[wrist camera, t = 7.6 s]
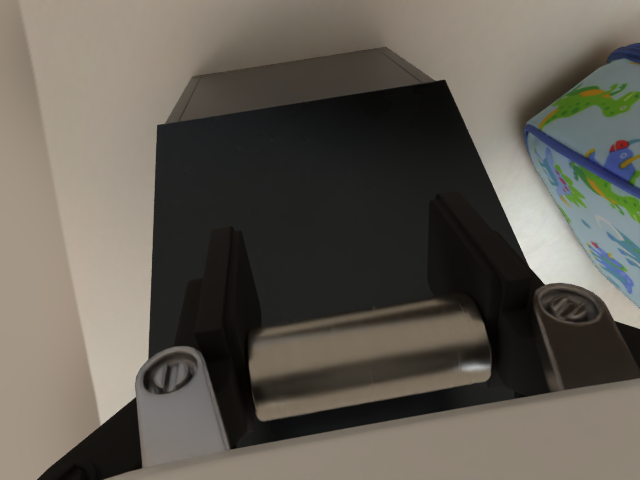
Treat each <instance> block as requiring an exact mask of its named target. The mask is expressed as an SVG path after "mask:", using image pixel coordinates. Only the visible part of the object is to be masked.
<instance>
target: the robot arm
mask: <svg viewBox="0 0 640 480" xmlns="http://www.w3.org/2000/svg"><path fill="white" fill-rule="evenodd" d="M427 280H428V284H429V287H430V290H431V291H432V293H433V295H434V297H435V296H441V295H446V294H452V293H458V292H464V293H467V294H469V295H470V296H471V297H472V298H473V299H474V300H475V302H476V303H477V305H478V307H479V308H480V310H481V312H482V315H483V317H484V319H485V322H486V325H487V328H488V331H489V335H490V339H491V345H492V352H493V370H492V374H491V377H490V378H489V379H488V380H487V381H485V382H486V384H487V386H488V388H489V389H490V390H493V389H499V388H505V387H506V388H509V389H511V390H513V391H514V398H515V399H511V400H505V401H499V402H493V403H488V404H482V405H476V406H470V407H465V408H459V409H453V410H448V411H442V412H436V413H431V414H425V415H419V416H414V417H408V418H402V419H397V420H391V421H386V422H380V423H374V424H369V425H363V426H357V427H352V428H346V429H341V430H335V431H330V432H324V433H319V434H313V435H308V436H302V437H297V438H292V439H286V440H281V441H275V442H270V443H264V444H259V445H253V446H248V447H242V448H238V447H237V442H238V441H239V440H240V439H241V438H242V437H243V436H244V435H245V434H246V433H249V432H255V417H257V416H256V414H255V412H254V409H253V405H252V401H251V397H250V392H249V386H248V379H247V371H246V357H245V343H246V336H247V332H248V330H250V329H251V328H256V327H262V322H261V307H260V302H259V298H258V294H257V290H256V286H255V282H254V278H253V274H252V270H251V266H250V262H249V258H248V254H247V250H246V246H245V242H244V238H243V235H242V231H241V230H237V231H234V228H233V226H229V227H223V228H216V229H212V231H211V236H210V242H209V247H208V253H207V259H206V265H205V270H204V276H203V278H198V279H192V280H189V281H188V284H187V287H186V292H185V296H184V301H183V306H182V310H181V315H180V319H179V324H178V328H177V333H176V337H175V342H174V347H172V348H168V349H165V350H163V351H161V352H159V353H157V354H155V355H154V356H153V357H151V358H150V359H149V360H147V362H146V363H145V364H144V365H143V366H142V367H141V368H140V370H139V372H138V374H137V376H136V382H135V390H136V398H134V399H133V400H132V401H131V402H130V403H128V404H127V405H126V406H125V407H123V408H122V409H121V410H120V411H118V412H117V413H116V414H115V415H114V416H112V417H111V418H110V419H109V420H107V421H106V422H105V423H104V424H103V425H101V426H100V427H99V428H98V429H96V430H95V431H94V432H93V433H92V434H90V435H89V436H88V437H87V438H85V439H84V440H83V441H82V442H80V443H79V444H78V445H77V446H76V447H74V448H73V449H72V450H71V451H69V452H68V453H67V454H66V455H65V456H63V457H62V458H61V459H60V460H58V461H57V462H56V463H55V464H54V465H52V466H51V467H50V468H49V469H48V470H46V471H45V472H44V473H43V475H41V476H40V477H39V478H38V479H37V480H640V329H638V328H635V327H632V326H628V325H625V324H622V323H619V322H616V321H614V320H613V318H612V316H611V314H610V312H609V310H608V308H607V306H606V305H605V303H604V302H603V301H602V300H601V298H599V297H598V296H597V295H595V294H594V293H593V292H591V291H589V290H587V289H585V288H583V287H579V286H576V285H572V284H565V283H553V284H547V285H545V284H544V283H543V282H542V281H541V280H540V279H539V278H538V276H537V275H536V274H535V273H534V272H533V271H532V270H531V269H530V267H529V266H528V265H527V264H526V263H525V262H524V261H523V259H522V258H521V257H520V256H519V255H518V254H517V253H516V251H515V250H514V249H513V248H512V247H511V246H510V245H509V244H508V242H507V241H506V240H505V239H504V238H503V237H502V236H501V234H499V233H498V232H497V231H493V230H492V229H491V228H490V227H489V226H488V225H487V223H486V222H485V221H484V220H483V219H482V218H481V216H480V215H479V214H478V213H477V212H476V211H475V209H474V208H473V207H472V206H471V205H470V204H469V203H468V201H467V200H466V199H465V198H464V197H463V196H462V194H461V193H460V192H459V191H450V192H444V193H438V194H436V197H435V199H432V200H430V202H429V223H428V260H427Z"/></svg>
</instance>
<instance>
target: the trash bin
mask: <svg viewBox="0 0 640 480" xmlns="http://www.w3.org/2000/svg"><path fill="white" fill-rule="evenodd" d="M433 81H435V80H433V79H432V78H430V77H429V76H428V75H426V74H425V73H423V72H422V71H420V70H419V69H417V68H416V67H414V66H413V65H412V64H410V63H409V62H407V61H406V60H404V59H403V58H401V57H400V56H399V55H397V54H396V53H394V52H393V51H391V50H390V49H388V48H387V47H382V48H375V49H369V50H362V51H356V52H350V53H343V54H337V55H330V56H324V57H317V58H311V59H304V60H298V61H291V62H285V63H278V64H272V65H266V66H259V67H253V68H246V69H240V70H233V71H227V72H220V73H214V74H207V75H201V76H194V77H192V78H191V80H190V81H189V83H188V85H187V86H186V88H185V90H184V92H183V93H182V95H181V97H180V98H179V100H178V102H177V104H176V105H175V107H174V109H173V111H172V112H171V114H170V116H169V118H168V119H167V121H166V123H165V124H167V123H173V122H180V121H186V120H192V119H199V118H205V117H211V116H218V115H224V114H230V113H237V112H243V111H249V110H256V109H262V108H268V107H275V106H281V105H287V104H294V103H300V102H306V101H313V100H319V99H325V98H332V97H338V96H344V95H351V94H357V93H364V92H370V91H376V90H383V89H389V88H395V87H402V86H408V85H414V84H421V83H427V82H433Z"/></svg>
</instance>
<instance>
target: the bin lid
mask: <svg viewBox="0 0 640 480" xmlns="http://www.w3.org/2000/svg"><path fill="white" fill-rule="evenodd" d="M450 191H459V192H460V193H461V194H462V196H463V197H464V198H465V199H466V200H467V201H468V203H469V204H470V205H471V206H472V207H473V208H474V209H475V211H476V212H477V213H478V214H479V215H480V216H481V218H482V219H483V220H484V221H485V222H486V223H487V225H488V226H489V227H490V228H491V229H492V230H493V231H497V232H498V233H499V234H501V236H502V237H503V238H504V239H505V240H506V241H507V242H508V244H509V245H510V246H511V247H512V248H513V249H514V250H515V251H516V253H517V254H518V255H519V256H520V257H521V258H522V259H523V261H524V262H525V263H526V264H527V265H528V263H527V261H526V259H525V257H524V255H523V252H522V250H521V248H520V246H519V243H518V241H517V239H516V237H515V234H514V232H513V230H512V228H511V226H510V223H509V221H508V219H507V217H506V214H505V212H504V210H503V208H502V206H501V203H500V201H499V199H498V197H497V194H496V192H495V190H494V188H493V185H492V183H491V181H490V179H489V177H488V174H487V172H486V170H485V168H484V165H483V163H482V161H481V159H480V156H479V154H478V152H477V150H476V148H475V145H474V143H473V141H472V139H471V136H470V134H469V132H468V130H467V128H466V125H465V123H464V121H463V119H462V116H461V114H460V112H459V110H458V107H457V105H456V103H455V101H454V99H453V96H452V94H451V92H450V90H449V87H448V85H447V83H446V81H445V80H440V81H433V82H427V83H421V84H414V85H408V86H402V87H395V88H389V89H383V90H376V91H370V92H364V93H357V94H351V95H344V96H338V97H332V98H325V99H319V100H313V101H306V102H300V103H294V104H287V105H281V106H275V107H268V108H262V109H256V110H249V111H243V112H237V113H230V114H224V115H218V116H211V117H205V118H199V119H192V120H186V121H180V122H173V123H167V124H161V125H157V144H156V171H155V198H154V224H153V251H152V278H151V305H150V332H149V358H148V360H149V359H150V358H151V357H153V356H154V355H155V354H157V353H159V352H161V351H163V350H165V349H168V348H172V347H174V342H175V337H176V333H177V328H178V324H179V319H180V315H181V310H182V306H183V301H184V296H185V292H186V287H187V284H188V281H189V280H192V279H198V278H203V276H204V270H205V265H206V259H207V253H208V247H209V242H210V236H211V231H212V229H216V228H223V227H229V226H233V228H234V231H237V230H241V231H242V235H243V238H244V242H245V246H246V250H247V254H248V258H249V262H250V266H251V270H252V274H253V278H254V282H255V286H256V290H257V294H258V298H259V302H260V307H261V322H262V327H256V328H251V329H250V330H248V332H247V336H246V343H245V357H246V371H247V379H248V386H249V392H250V397H251V401H252V405H253V409H254V412H255V414H256V416H257V417H255V432H249V433H246V434H245V435H244V436H243V437H242V438H241V439H240V440H239V441H238V442H237V447H238V448H242V447H248V446H253V445H259V444H264V443H270V442H275V441H281V440H286V439H292V438H297V437H302V436H308V435H313V434H319V433H324V432H330V431H335V430H341V429H346V428H352V427H357V426H363V425H369V424H374V423H380V422H386V421H391V420H397V419H402V418H408V417H414V416H419V415H425V414H431V413H436V412H442V411H448V410H453V409H459V408H465V407H470V406H476V405H482V404H488V403H493V402H499V401H505V400H511V399H515V398H514V391H513V390H511V389H509V388H506V387H505V388H499V389H493V390H490V389H489V388H488V386H487V384H486V382H485V381H487V380H488V379H489V378H490V377H491V374H492V370H493V352H492V345H491V339H490V335H489V331H488V328H487V325H486V322H485V319H484V317H483V315H482V312H481V310H480V308H479V307H478V305H477V303H476V302H475V300H474V299H473V298H472V297H471V296H470V295H469V294H467V293H464V292H458V293H452V294H446V295H441V296H435V297H434V295H433V293H432V291H431V290H430V287H429V284H428V280H427V260H428V223H429V202H430V200H432V199H435V197H436V194H438V193H444V192H450Z"/></svg>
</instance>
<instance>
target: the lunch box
mask: <svg viewBox="0 0 640 480" xmlns="http://www.w3.org/2000/svg"><path fill="white" fill-rule="evenodd" d="M524 140H525V144H526V147H527V150H528V153H529V155H530V157H531V159H532V161H533V164H534V166H535V168H536V169H537V171H538V173H539V175H540V176H541V178H542V180H543V182H544V183H545V185H546V187H547V188H548V190H549V192H550V193H551V195H552V197H553V198H554V200H555V202H556V203H557V205H558V206H559V208H560V210H561V211H562V213H563V214H564V216H565V217H566V219H567V221H568V223H569V225H570V226H571V228H572V230H573V232H574V234H575V235H576V237H577V239H578V240H579V242H580V243H581V245H582V246H583V248H584V249H585V251H586V252H587V254H588V255H589V257H590V258H591V260H592V261H593V263H594V264H595V266H596V267H597V268H598V269H599V271H600V272H601V273H602V274H603V275H604V276H605V277H606V278H607V279H608V280H609V281H610V282H611V283H612V284H613V285H614V286H615V287H616V288H617V289H618V290H619V291H620V292H622V293H623V294H624V295H625V296H626V297H627V298H628V299H629V300H631V301H632V302H633V303H634V304H635V305H636V306H638V307H639V308H640V43H635V44H631V45H628V46H625V47H620V48H618V49H616V50H615V51H613V52H612V53H611V54H610V55H609V57H608V61H607V64H606V65H604V66H601V67H599V68H598V69H597V70H595V71H594V72H593V73H591V74H590V75H589V76H587V77H586V78H585V79H583V80H582V81H581V82H580V83H578V84H577V85H576V86H575V87H573V88H572V89H571V90H570V91H568V92H567V93H565V94H564V95H563V96H561V97H560V98H559V99H557V100H556V101H555V102H553V103H552V104H551V105H549V106H548V107H547V108H545V109H544V110H542V111H541V112H540V113H538V114H537V115H535V116H534V117H533V118H531V119H530V120H529V121H528V122H527V123H526V126H525V128H524Z"/></svg>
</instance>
